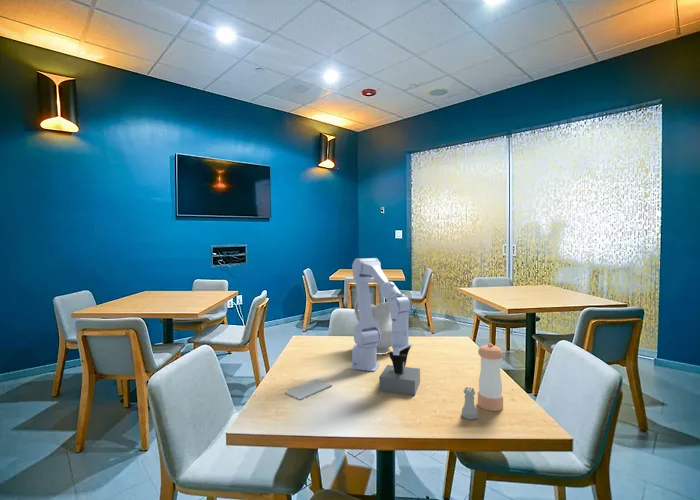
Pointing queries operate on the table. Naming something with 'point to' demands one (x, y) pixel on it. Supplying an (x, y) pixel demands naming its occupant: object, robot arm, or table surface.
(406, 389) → the gray square knob slab
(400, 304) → the robot arm
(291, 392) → the smartphone
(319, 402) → the table surface
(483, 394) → the pepper shaker
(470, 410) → the rook chess piece
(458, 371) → the table surface
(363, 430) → the table surface
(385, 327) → the ceramic pitcher
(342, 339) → the table surface
